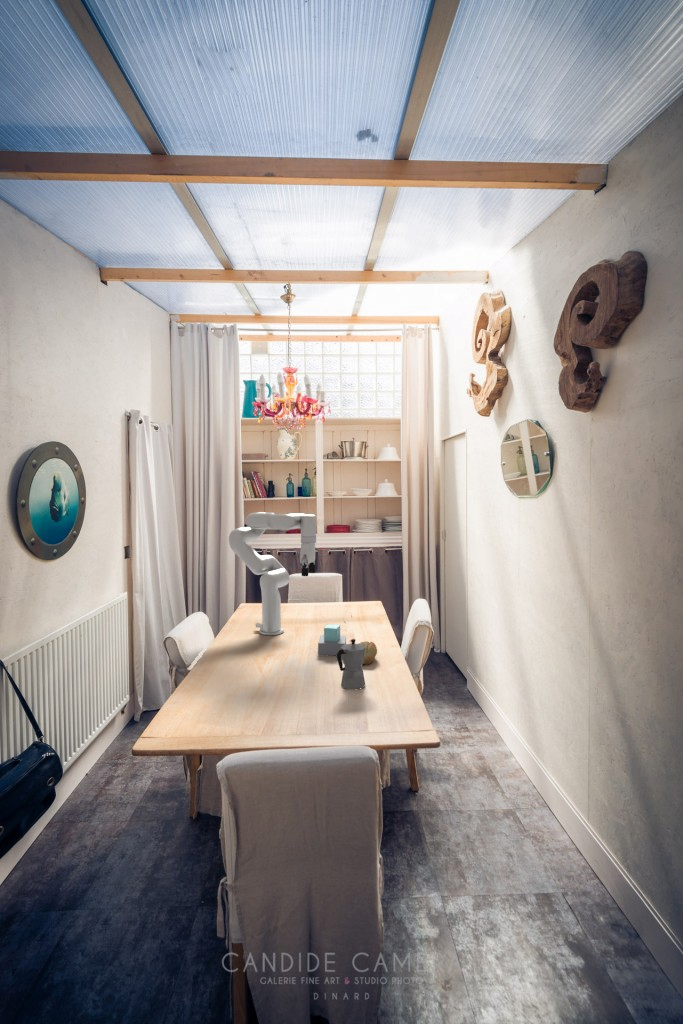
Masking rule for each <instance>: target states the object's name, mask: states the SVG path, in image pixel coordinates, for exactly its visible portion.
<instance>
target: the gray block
mask: <svg viewBox="0 0 683 1024" xmlns="http://www.w3.org/2000/svg"><path fill="white" fill-rule="evenodd" d="M344 644H347V635H340V639H339V640H338V641H337V642H333V641H324V634H322V635H321V634H320V636H319V639H318V642H317V656H318V655H328V656H327V657H334V656H333V655H337V653H338V651H339V650H341V647H342V646H343V645H344ZM330 655H331V656H330ZM341 657H342V655H341Z"/></svg>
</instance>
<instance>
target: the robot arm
mask: <svg viewBox="0 0 683 1024" xmlns="http://www.w3.org/2000/svg"><path fill="white" fill-rule="evenodd" d="M245 524H246V526H243V527H238V528H234V529H233V530H231V531H230V533H229V536H228V543H229V547H230V548H231V550H232V551H233V553H234V554H235V555H236V556H237V557H238V558H239V559H240V560H241V561H242V562H243V563H244V565H246V567H247V568H248V569H249V570H250V571H251V572H252V573H253V574H254V575H255V576H256V575H257V576H259V575H261V576H260V578H259V585H260V589H261V590H260V591H261V622H255V628H259V631H258V632H259V634H261V635H264V636H276V635H278V636H279V635H281V634H283V633H285V630H284V629H285V628H284V627H282V625H281V624H282V621H281V620H282V615H281V614H282V610H281V609H282V607H281V606H282V605H281V602H282V601H281V599H282V598H281V593H280V591H279V588H283V587H285V586H287V585H289V582H290V579H291V577H290V574H289V572H288V570H287V568H285V567H284V566H283V565H282V564H281V563H280V562H279V560H278V559H277V558H276V557H274V556H273V555H271V554H264V555H263V554H262V555H261V554H259V553H258V552H257V551H256V549H255V548H253V547H252V546H250V545H249V543H254V542H257V541H258V540H259V538H260V537H261V536H262V535H263V534H264V533H265V531H266V530H276V531H277V530H283V531H285V530H286V531H289V530H295V529H300V543H301V544H300V552H299V553H300V554H299V563H300V565H301V567H300V568H301V576H302V577H308V576H309V574H310V573H313V574H314V573H316V544H317V517H316V515H315V514H310V513H309V514H307V513H306V514H305V513H300V512H298V513H295V512H294V513H288V514H287V513H285V514H276V513H275V512H264V511H258V512H251V513H249V514H248V515H247V516H246V517H245Z"/></svg>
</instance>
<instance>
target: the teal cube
mask: <svg viewBox="0 0 683 1024" xmlns="http://www.w3.org/2000/svg"><path fill="white" fill-rule="evenodd" d="M323 635H324V641H333V642H337V641H338V640H339V639H340V636H341V625H340V624H330V623H329V624H326V625H325V626H324V628H323Z"/></svg>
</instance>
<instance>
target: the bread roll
mask: <svg viewBox="0 0 683 1024" xmlns="http://www.w3.org/2000/svg"><path fill="white" fill-rule="evenodd" d="M360 643H361V644H365V654H364V661H363V664H367V665H369V664H371V663H372V662H373V661H375V658H376V656H377V655H378V649H377V646H376V644H375V642H374V641H368V640H367V641H366V640H365V641H361V642H360Z"/></svg>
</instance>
